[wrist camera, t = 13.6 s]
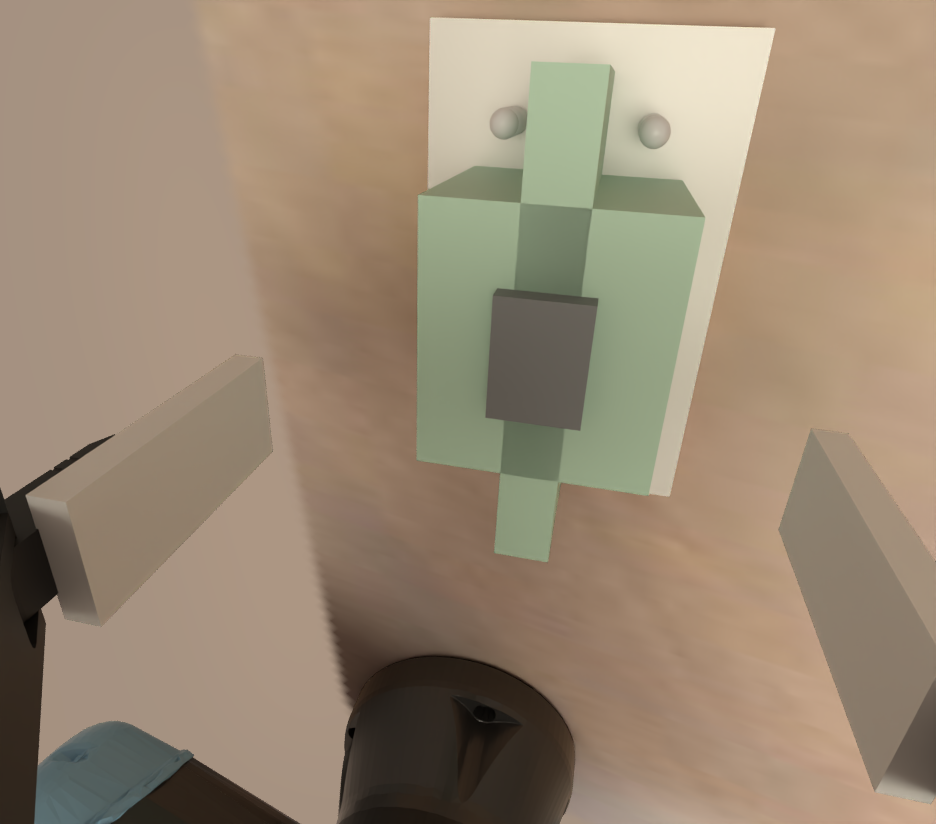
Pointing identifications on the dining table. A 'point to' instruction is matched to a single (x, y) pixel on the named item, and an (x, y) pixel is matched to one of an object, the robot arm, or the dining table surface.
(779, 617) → the dining table surface
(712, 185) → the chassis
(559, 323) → the green stepped block
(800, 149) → the dining table surface
